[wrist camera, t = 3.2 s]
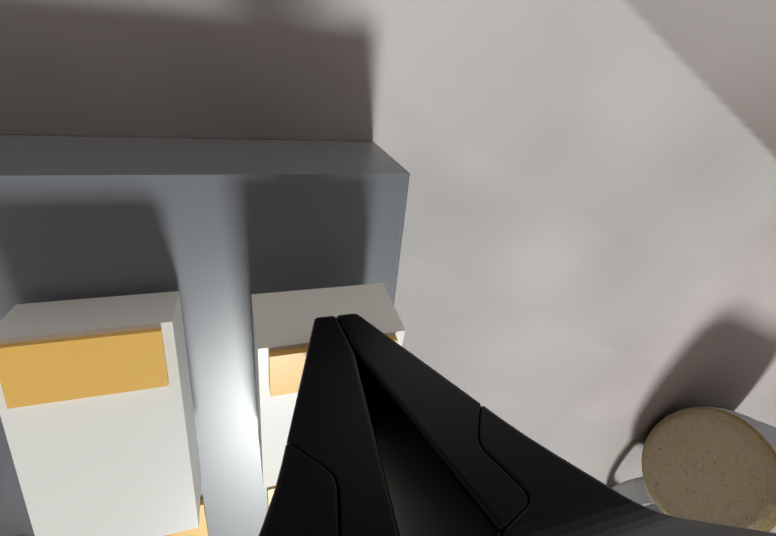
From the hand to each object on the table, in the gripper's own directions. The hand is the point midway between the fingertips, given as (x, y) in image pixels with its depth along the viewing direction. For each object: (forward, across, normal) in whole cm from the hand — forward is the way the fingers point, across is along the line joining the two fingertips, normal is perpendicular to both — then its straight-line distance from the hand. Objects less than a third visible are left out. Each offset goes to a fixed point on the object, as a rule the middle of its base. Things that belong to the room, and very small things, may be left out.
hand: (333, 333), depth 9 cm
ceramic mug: (+6, -24, +17) cm, 30 cm away
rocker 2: (+1, 0, +3) cm, 3 cm away
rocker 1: (+1, +4, +3) cm, 5 cm away
